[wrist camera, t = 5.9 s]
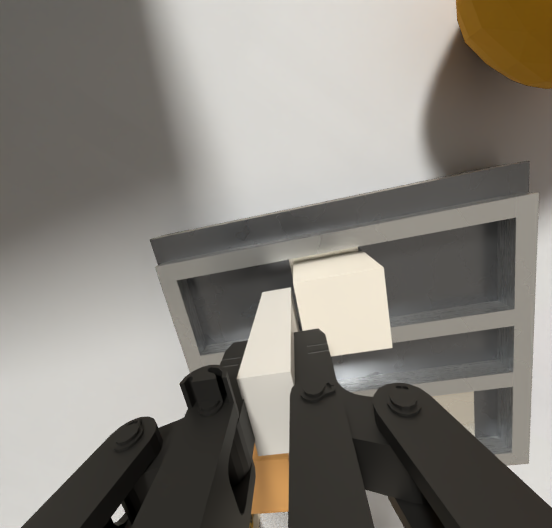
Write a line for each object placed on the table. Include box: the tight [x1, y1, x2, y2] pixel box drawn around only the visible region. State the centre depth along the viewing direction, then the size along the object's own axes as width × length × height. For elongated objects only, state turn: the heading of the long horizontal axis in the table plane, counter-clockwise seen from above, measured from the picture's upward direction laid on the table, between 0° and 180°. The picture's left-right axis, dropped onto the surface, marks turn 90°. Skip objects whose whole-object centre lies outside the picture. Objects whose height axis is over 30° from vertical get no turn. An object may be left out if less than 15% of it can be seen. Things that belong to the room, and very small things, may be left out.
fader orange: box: [251, 443, 289, 514], centre depth 17 cm, size 4×4×4 cm
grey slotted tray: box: [150, 161, 539, 465], centre depth 17 cm, size 21×20×3 cm
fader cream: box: [293, 251, 393, 356], centre depth 14 cm, size 4×4×4 cm
